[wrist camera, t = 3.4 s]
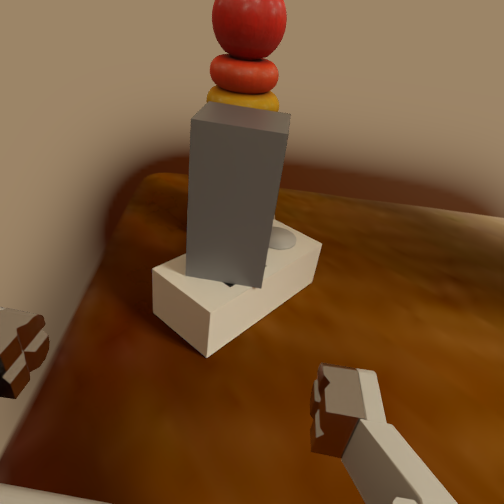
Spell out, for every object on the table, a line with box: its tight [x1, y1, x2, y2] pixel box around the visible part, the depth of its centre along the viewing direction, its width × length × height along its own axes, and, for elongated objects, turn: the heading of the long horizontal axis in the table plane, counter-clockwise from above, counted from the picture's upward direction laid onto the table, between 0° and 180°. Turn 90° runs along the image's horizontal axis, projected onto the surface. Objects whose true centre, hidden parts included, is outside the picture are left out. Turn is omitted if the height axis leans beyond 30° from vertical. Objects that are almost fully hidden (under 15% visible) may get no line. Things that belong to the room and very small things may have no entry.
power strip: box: [152, 219, 322, 358], centre depth 26 cm, size 11×5×4 cm, turn 138°
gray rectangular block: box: [185, 101, 291, 289], centre depth 22 cm, size 4×4×11 cm
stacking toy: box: [187, 0, 287, 219], centre depth 30 cm, size 8×8×19 cm
